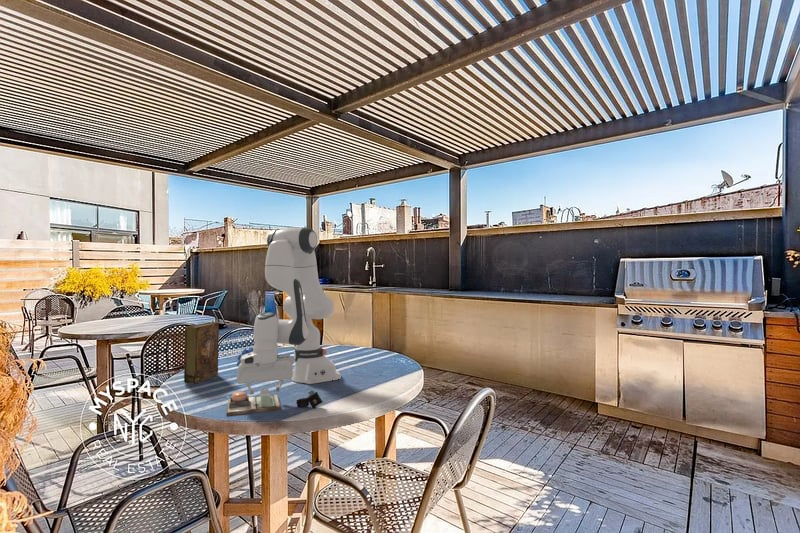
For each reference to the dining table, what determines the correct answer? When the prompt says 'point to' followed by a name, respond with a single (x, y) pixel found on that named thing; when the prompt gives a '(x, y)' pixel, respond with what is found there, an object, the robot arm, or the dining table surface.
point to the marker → (265, 397)
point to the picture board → (251, 405)
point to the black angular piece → (309, 400)
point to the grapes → (244, 354)
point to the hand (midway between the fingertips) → (265, 392)
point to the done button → (239, 396)
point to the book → (201, 352)
